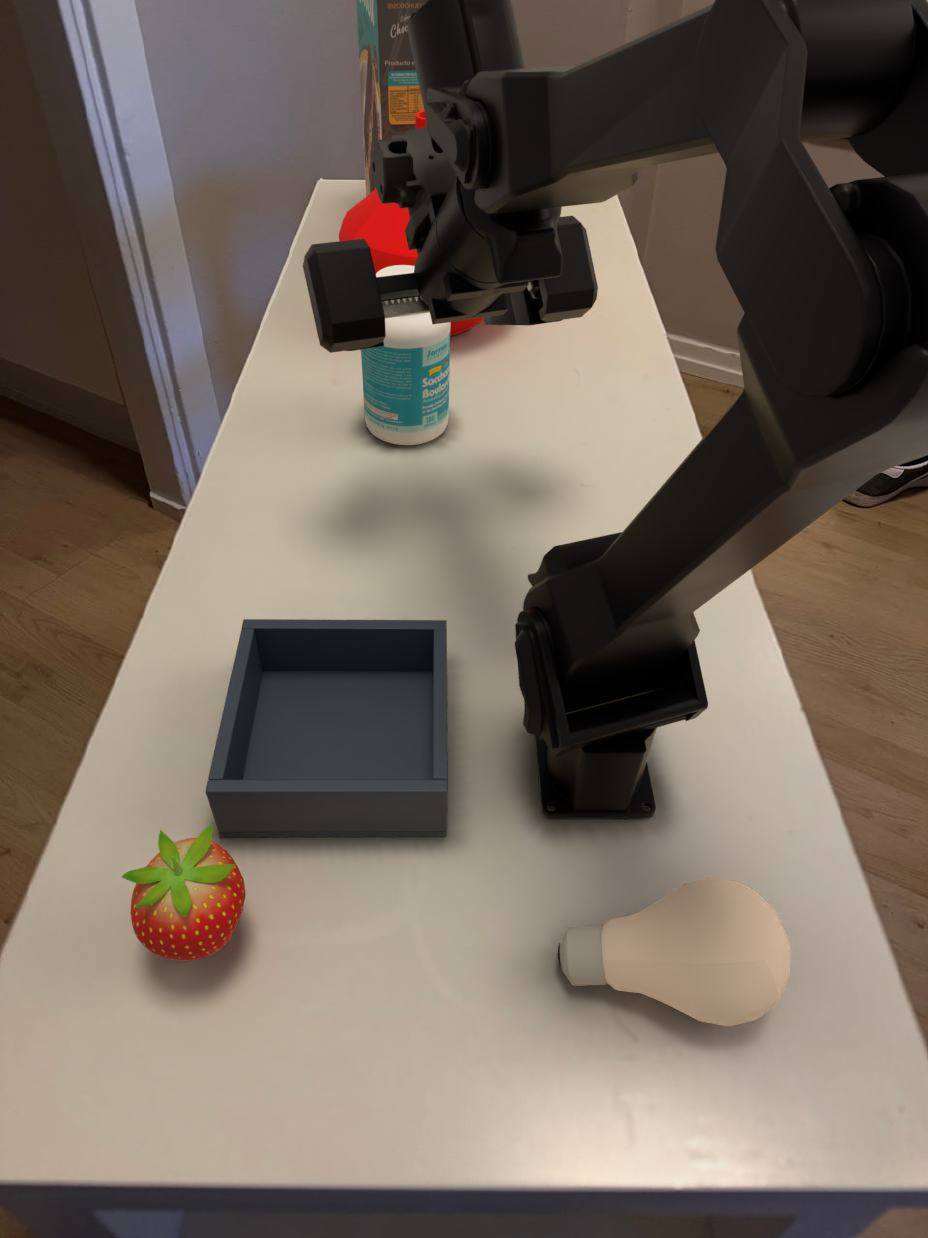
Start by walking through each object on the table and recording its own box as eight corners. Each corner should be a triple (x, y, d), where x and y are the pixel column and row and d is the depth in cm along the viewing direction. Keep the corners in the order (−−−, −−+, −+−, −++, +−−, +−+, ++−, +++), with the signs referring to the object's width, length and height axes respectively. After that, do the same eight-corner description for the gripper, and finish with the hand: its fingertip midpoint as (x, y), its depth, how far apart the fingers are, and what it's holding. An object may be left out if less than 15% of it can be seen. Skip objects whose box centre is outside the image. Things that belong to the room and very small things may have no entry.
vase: (338, 358, 86) (321, 146, 72) (349, 277, 98) (336, 84, 85) (524, 359, 86) (541, 150, 73) (511, 279, 99) (523, 88, 86)
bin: (446, 836, 49) (447, 791, 45) (219, 837, 48) (204, 792, 45) (445, 667, 57) (446, 619, 54) (253, 667, 57) (243, 618, 54)
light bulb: (541, 975, 38) (803, 966, 36) (547, 859, 44) (775, 844, 41) (566, 1059, 42) (807, 1056, 39) (569, 941, 47) (781, 932, 45)
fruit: (246, 991, 42) (218, 916, 37) (140, 989, 42) (95, 913, 37) (265, 889, 46) (242, 806, 40) (167, 886, 46) (131, 803, 40)
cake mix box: (366, 206, 113) (351, -89, 92) (412, 205, 114) (408, -89, 93) (386, 280, 98) (374, -53, 77) (439, 277, 99) (442, -53, 78)
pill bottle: (438, 454, 74) (439, 303, 65) (355, 443, 75) (344, 291, 66) (456, 408, 80) (460, 262, 70) (378, 398, 81) (371, 252, 71)
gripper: (604, 80, 51) (521, 205, 67) (290, 102, 47) (278, 230, 62) (642, 267, 52) (551, 349, 67) (335, 307, 47) (312, 385, 62)
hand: (427, 325), depth 65 cm, fingers open, 9 cm apart
